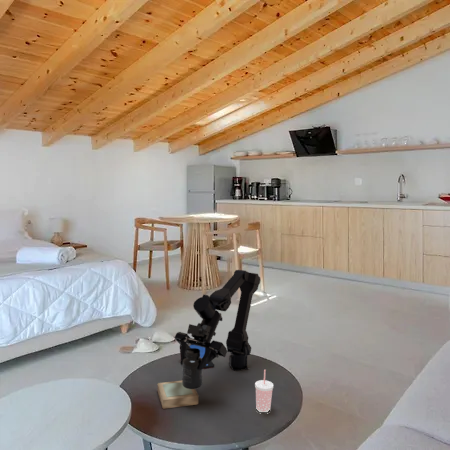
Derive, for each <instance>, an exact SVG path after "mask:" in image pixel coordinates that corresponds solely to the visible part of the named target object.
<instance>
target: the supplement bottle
mask: <svg viewBox="0 0 450 450" xmlns="http://www.w3.org/2000/svg"><path fill="white" fill-rule="evenodd" d="M185 356H186V357H185V358H184V359H183V366H182V368H181V369H182V371H181V372H182V373H181V374H182V375H181V378H182V379H181V381H182V385H183V386H184V387H185V388H187V389H195V390H197V389H199V388H201V386H203V373H204V372H203V371H204V369H203V368H202V369H201V370H198V368H199V365H200V363H201V360H202V358H201V357H200V350H199V349H197V348H190V349H187V350H186V354H185Z"/></svg>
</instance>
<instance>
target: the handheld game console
mask: <svg viewBox="0 0 450 450" xmlns="http://www.w3.org/2000/svg"><path fill="white" fill-rule="evenodd" d="M190 348H197V349H199V350H200V357H201V358H203V356H204V354H205V348H204V347H200V346H196V345H193V344H191V345H190ZM179 353H180V357H181V354H182V346H181V345H180V344H179ZM181 366H182V367H183V365H181ZM213 368H215V364H214V363H213V360H212V361H210V362H209V363H208V364H207V365H206V366H205V367H204V368H203V370H206V369H213Z"/></svg>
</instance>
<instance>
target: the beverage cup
mask: <svg viewBox="0 0 450 450" xmlns="http://www.w3.org/2000/svg"><path fill="white" fill-rule="evenodd" d="M266 371H267V369H264V370H263V379H260V380H257V381H255V383H254V387H255V407H256V408H255V410H256V409H257V410H258V411H259V412H268V411H269V410H270V411H271V405H272V396H273V389H274V383H273V382H272V381H269V380H267V379H266Z"/></svg>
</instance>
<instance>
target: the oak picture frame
mask: <svg viewBox="0 0 450 450" xmlns="http://www.w3.org/2000/svg"><path fill="white" fill-rule="evenodd" d="M157 394H158V398H159V401H160V404H161V408H162V409H164V410H165V409H171V408H179V407H186V406H188V407H189V406H193V405H195V406H196V405H199V393H198V392H197V389H187V388H185V387H184V386H183V385H182V380H173V381H166V382H165V381H164V382H158V383H157Z"/></svg>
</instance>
